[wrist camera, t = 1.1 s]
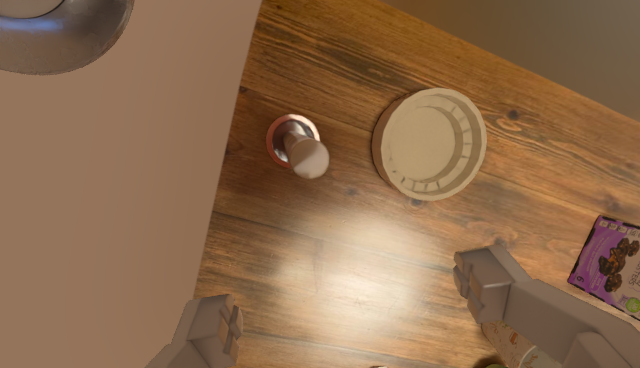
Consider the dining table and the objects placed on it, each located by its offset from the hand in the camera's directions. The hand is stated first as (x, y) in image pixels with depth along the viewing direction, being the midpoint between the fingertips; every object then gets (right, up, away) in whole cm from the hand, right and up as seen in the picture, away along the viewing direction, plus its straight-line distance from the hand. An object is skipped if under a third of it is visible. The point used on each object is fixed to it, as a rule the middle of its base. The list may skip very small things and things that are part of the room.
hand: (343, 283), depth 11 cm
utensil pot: (-5, +10, +32) cm, 34 cm away
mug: (+33, -20, +44) cm, 59 cm away
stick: (-5, +10, +32) cm, 34 cm away
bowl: (+15, +10, +35) cm, 39 cm away
